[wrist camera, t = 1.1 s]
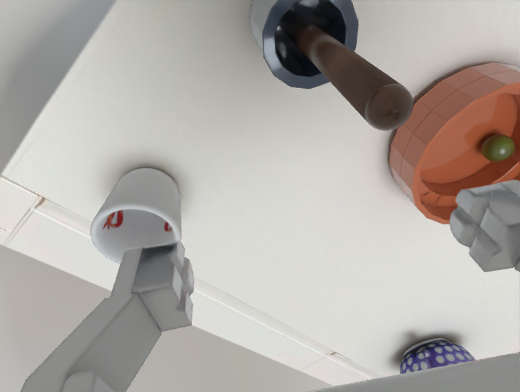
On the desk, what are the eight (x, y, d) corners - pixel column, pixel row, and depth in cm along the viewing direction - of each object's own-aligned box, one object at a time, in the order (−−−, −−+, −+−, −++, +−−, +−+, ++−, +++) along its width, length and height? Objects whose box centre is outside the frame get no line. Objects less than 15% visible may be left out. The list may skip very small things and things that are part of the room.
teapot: (372, 342, 63) (408, 431, 52) (447, 311, 59) (505, 399, 48) (409, 380, 77) (444, 457, 65) (472, 357, 73) (522, 434, 61)
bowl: (426, 50, 30) (466, 68, 25) (565, 71, 33) (624, 90, 28) (366, 189, 39) (387, 222, 35) (478, 196, 42) (512, 226, 37)
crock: (254, -33, 24) (270, -28, 17) (328, -19, 26) (373, -9, 18) (244, 50, 28) (255, 83, 21) (310, 59, 29) (342, 93, 22)
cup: (180, 235, 40) (174, 288, 34) (113, 229, 38) (93, 283, 32) (190, 163, 34) (185, 211, 28) (111, 152, 32) (86, 200, 26)
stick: (279, 6, 26) (385, 89, 10) (298, 9, 26) (431, 94, 10) (275, 28, 26) (367, 136, 11) (293, 31, 27) (410, 140, 11)
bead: (484, 128, 35) (503, 141, 32) (507, 130, 35) (528, 143, 33) (469, 152, 37) (487, 165, 34) (491, 154, 37) (510, 167, 35)
